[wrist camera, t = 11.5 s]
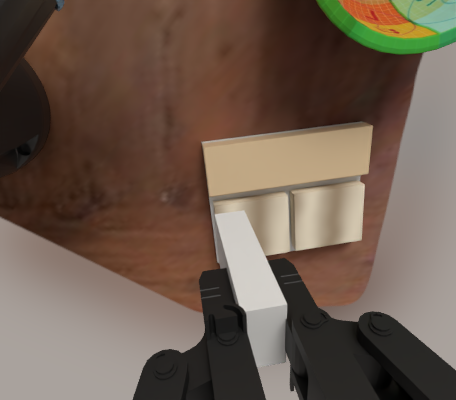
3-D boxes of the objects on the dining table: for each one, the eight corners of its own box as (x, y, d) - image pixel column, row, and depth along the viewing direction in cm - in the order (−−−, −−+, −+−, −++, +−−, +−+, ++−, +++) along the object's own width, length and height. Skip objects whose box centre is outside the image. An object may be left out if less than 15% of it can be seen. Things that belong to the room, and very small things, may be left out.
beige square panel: (291, 244, 45) (295, 250, 43) (289, 190, 42) (294, 194, 40) (354, 234, 46) (361, 240, 44) (357, 180, 43) (364, 184, 41)
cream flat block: (219, 255, 44) (221, 263, 42) (212, 201, 41) (214, 206, 39) (285, 245, 45) (289, 251, 43) (283, 190, 42) (288, 195, 40)
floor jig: (216, 259, 46) (219, 271, 44) (201, 141, 39) (203, 147, 36) (351, 237, 48) (361, 247, 45) (361, 121, 40) (372, 125, 38)
